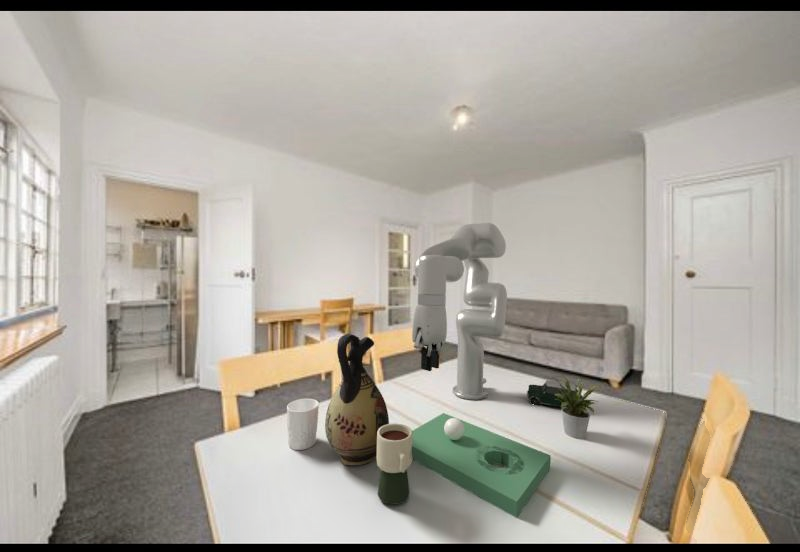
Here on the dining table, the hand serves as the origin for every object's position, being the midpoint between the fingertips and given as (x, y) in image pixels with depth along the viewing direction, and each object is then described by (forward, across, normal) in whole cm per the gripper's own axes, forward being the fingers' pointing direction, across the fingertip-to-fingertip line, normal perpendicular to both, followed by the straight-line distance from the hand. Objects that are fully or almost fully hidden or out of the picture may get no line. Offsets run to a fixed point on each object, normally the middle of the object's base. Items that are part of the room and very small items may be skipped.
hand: (430, 368), depth 82 cm
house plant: (+19, -31, +27) cm, 45 cm away
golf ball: (+14, 0, +8) cm, 16 cm away
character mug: (+19, +22, +8) cm, 30 cm away
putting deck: (+19, 0, +13) cm, 23 cm away
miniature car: (+20, -49, +18) cm, 56 cm away
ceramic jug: (+19, +19, -8) cm, 28 cm away
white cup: (+19, +25, -22) cm, 39 cm away
